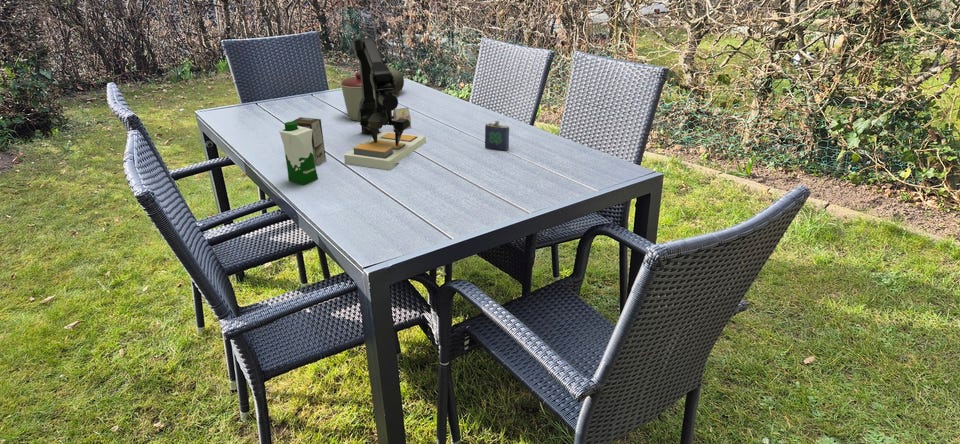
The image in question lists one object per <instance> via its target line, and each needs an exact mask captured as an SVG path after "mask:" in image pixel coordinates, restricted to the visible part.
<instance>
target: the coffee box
mask: <svg viewBox="0 0 960 444" xmlns="http://www.w3.org/2000/svg"><path fill="white" fill-rule="evenodd" d="M291 122H297V126H301V127H306V128H309V129H313V131H312V148H313V155H314V162H315V167H317V166H320V165H322V164H323V163H325V162H327V157H326V149H325V140H324V134H323V127H322V119H321V118H313V117H302V116H301V117H298V118H295V119H294V120H292V121H291Z"/></svg>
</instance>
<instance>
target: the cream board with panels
mask: <svg viewBox="0 0 960 444" xmlns="http://www.w3.org/2000/svg"><path fill="white" fill-rule="evenodd" d="M387 133H394V134H395V132H394V131H393V132H392V131H382V132H380V133H378V134H377V140H381V141H389V142H395V140H390V139H383V138H381V137H382V136H383V135H385V134H387ZM402 135H410V136H417V138H416V139H415V140H413V141H412V142H406V141H399V143H405V146H404V147H403V148H401V149H400V150H394V149H392V151H393V154H392V155H390V156H389V157H387V158H386V159H384V158H377V157H370V156H362V155H355V154H354V149H351V150H350V151H348V152H346V153H345V154H343V158H344V164H346V165H353V166H360V167H367V168H372V169H373V168H375V169H381V170H389V171H391V170H393V169H394V168H395V167H396V166H398V165H400V162H399V161H401V160H403V159H404V158H405V157H407V156H409V155H410V154H411V153H412V152H414V151H416V150H417V149H418V148H420V147H421V146H423V145H424V144H426V143H427V138H426V136H424V135H416V134H408V133H402ZM373 141H374V140H373V138H369V139H368V140H367V141H365V142H364V143H366V144H369V143H371V142H373Z"/></svg>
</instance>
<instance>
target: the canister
mask: <svg viewBox="0 0 960 444" xmlns="http://www.w3.org/2000/svg"><path fill="white" fill-rule="evenodd" d="M354 74H355V76H351V77H347V78H345V79H343V80H342V81H340V82H339V86H340V87H341V92H342V94H343V99H344V104H345V109H346V112H347V115H348V117H349V118H350V120H353V121H357V122H359V121H358V117H357V115H358V110H359V109H360V108H359V103H360V101H361V99H362V87H361V76H360V72H358V71H357V72H356V73H354ZM373 95H374V99H375V91H374V90H373Z"/></svg>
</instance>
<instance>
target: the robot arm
mask: <svg viewBox="0 0 960 444" xmlns="http://www.w3.org/2000/svg"><path fill="white" fill-rule="evenodd" d="M351 50H352V51H353V54H354V56H355V57H356V59H357V60H358V62H359V63H358V65H359V70H360V76H361V87H362V99H361V101H360V103H359V108H360V109H359V110H358V115H357V117H358V121H357V122H359V125H360V126H361V133H362V134H364V135H367V136H368V135H369V136H371V137H372V138H373V140H374V142H375V143H377V135H379V134H380V129H383V127H384V126H385V127H386V126H392V127H393V126H394V128H395V129H393V133H395V143H396V146H397V145H398V144H399V141H400V138H401V135H402V134H404V131H405V130H407V129H406V128H408V127H409V126H410V121H409V120H408V119H402V118H400V119H398V120H396V121H394V120H393V119H394V116H393V114H392V113H393V112H392V111H394V109H398V106H399V100H398V97H397V96H396V95H393V94H392V90H396V88H395V87H396V83H395V80H394V77H393V75H392V73H391V72H390V70H389V68H388V67H389V66H387V64H384V63H383V60H382V59H381V56H380V54H379V51H378V49H377V44H376V39H375V38H373V37H372V38H371V37H364V38H362V37H361V38H359V37H358V38H354V40H353V41H352V42H351ZM390 83H391V85H390ZM385 85H390V86H385ZM373 90H374V91H375V99H374V95H373ZM372 138H371V139H372Z"/></svg>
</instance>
